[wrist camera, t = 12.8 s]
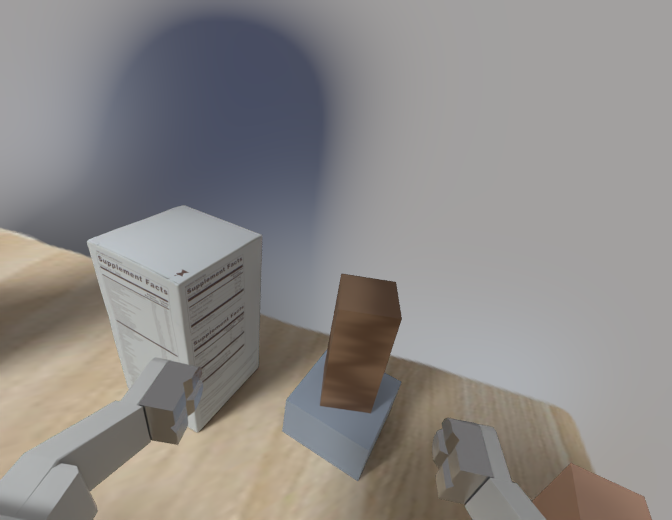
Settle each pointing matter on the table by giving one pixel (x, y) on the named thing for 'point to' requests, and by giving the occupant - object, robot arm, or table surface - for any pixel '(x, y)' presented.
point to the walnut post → (359, 342)
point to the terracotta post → (589, 498)
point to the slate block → (336, 422)
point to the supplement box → (184, 298)
